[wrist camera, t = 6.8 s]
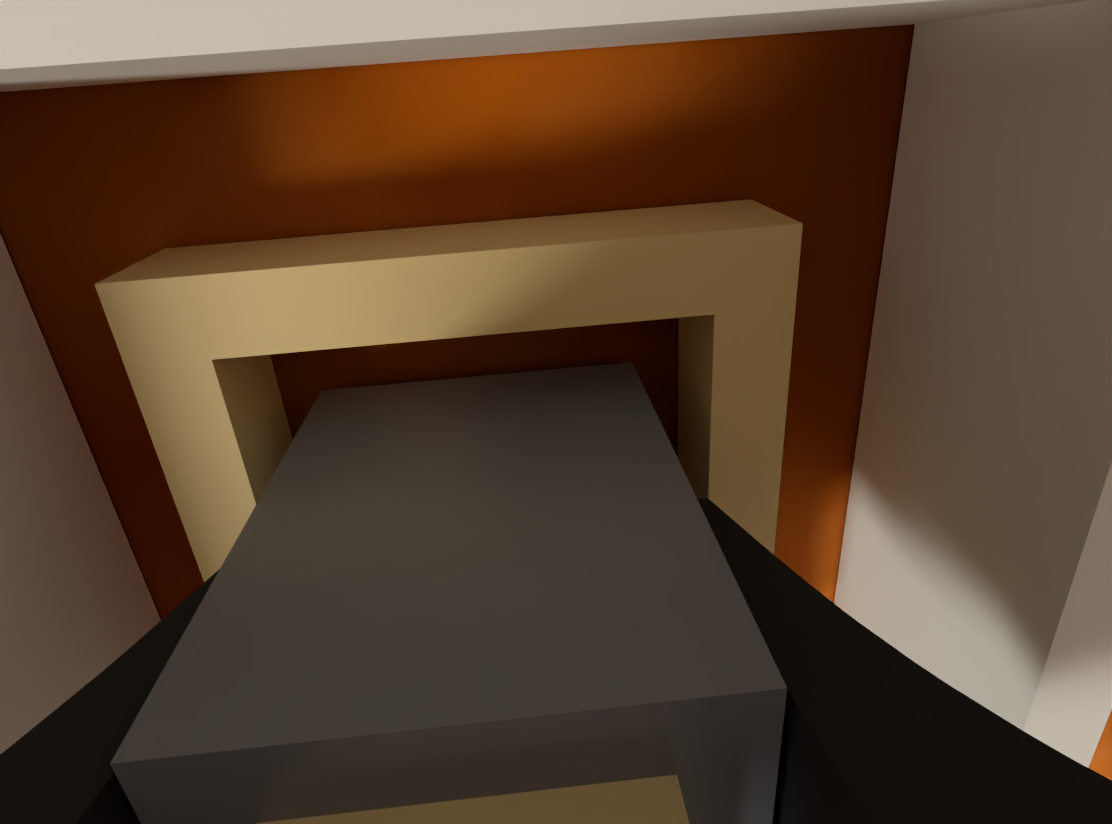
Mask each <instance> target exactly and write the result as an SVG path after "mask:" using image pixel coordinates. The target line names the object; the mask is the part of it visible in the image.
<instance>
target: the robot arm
mask: <svg viewBox="0 0 1112 824" xmlns="http://www.w3.org/2000/svg"><path fill="white" fill-rule="evenodd" d="M697 500H698V502H699V504H700V506H701V508H702V510H703V512H704V514H705V517H706V519H707V521H708V523H709V525H710V527H711V529H712V531H713V533H714V535H715V538H716V540H717V542H718V544H719V546H720V548H721V550H722V552H723V554H724V556H725V559H726V561H727V563H728V565H729V567H730V569H731V571H732V573H733V575H734V577H735V580H736V582H737V584H738V586H739V588H740V590H741V592H742V594H743V596H744V598H745V601H746V603H747V605H748V607H749V609H750V611H751V613H752V615H753V617H754V620H755V622H756V624H757V626H758V628H759V630H760V632H761V634H762V636H763V638H764V641H765V643H766V645H767V647H768V649H769V651H770V653H771V655H772V657H773V659H774V662H775V664H776V666H777V668H778V670H779V672H780V674H781V676H782V678H783V680H784V683H785V685H786V687H787V695H786V704H785V713H784V722H783V731H782V740H781V749H780V758H779V767H778V776H777V785H776V794H775V803H774V812H773V821H772V824H1112V781H1111V780H1109V779H1107V778H1106V777H1104V776H1102V775H1100V774H1098V773H1096V772H1095V771H1093V770H1091V769H1089V768H1087V767H1085V766H1083V765H1082V764H1080V763H1078V762H1076V761H1074V760H1073V759H1071V758H1069V757H1067V756H1066V755H1064V754H1062V753H1060V752H1059V751H1057V750H1055V749H1053V748H1052V747H1050V746H1048V745H1047V744H1045V743H1043V742H1041V741H1040V740H1038V739H1036V738H1034V737H1033V736H1031V735H1029V734H1028V733H1026V732H1024V731H1023V730H1021V729H1019V728H1018V727H1016V726H1014V725H1013V724H1011V723H1010V722H1008V721H1006V720H1005V719H1003V718H1002V717H1000V716H998V715H997V714H995V713H993V712H992V711H990V710H989V709H987V708H985V707H984V706H982V705H981V704H979V703H977V702H976V701H974V700H973V699H971V698H969V697H968V696H966V695H964V694H963V693H961V692H960V691H958V690H956V689H955V688H953V687H952V686H950V685H948V684H947V683H945V682H944V681H942V680H941V679H939V678H938V677H936V676H935V675H933V674H932V673H930V672H929V671H927V670H926V669H924V668H923V667H921V666H920V665H918V664H917V663H915V662H914V661H912V660H911V659H909V658H908V657H907V656H905V655H904V654H902V653H901V652H900V651H898V650H897V649H895V648H894V647H893V646H891V645H890V644H888V643H887V642H886V641H884V640H883V639H881V638H880V637H879V636H877V635H876V634H874V633H873V632H872V631H870V630H869V629H867V628H866V627H865V626H863V625H862V624H860V623H859V622H858V621H856V620H855V619H854V618H852V617H851V616H850V615H848V614H847V613H846V612H844V611H843V610H842V609H840V608H839V607H838V606H836V605H835V604H834V603H833V602H831V601H830V600H829V599H827V598H826V597H825V596H824V595H822V594H821V593H820V592H819V591H817V590H816V589H815V588H814V587H812V586H811V585H810V584H809V583H807V582H806V581H805V580H804V579H802V578H801V577H800V576H798V575H797V574H796V573H795V572H794V571H792V570H791V569H790V568H789V567H788V566H786V565H785V564H784V563H783V562H782V561H780V560H779V559H778V558H777V557H776V556H775V555H773V554H772V553H771V552H770V551H769V550H768V549H766V548H765V547H764V546H763V545H762V544H760V543H759V542H758V541H757V540H756V539H755V538H753V537H752V536H751V535H750V534H749V533H748V532H747V531H745V530H744V529H743V528H742V527H741V526H740V525H738V524H737V523H736V522H735V521H734V520H733V519H732V518H730V517H729V516H728V515H727V514H726V513H725V512H723V511H722V510H721V509H720V508H719V507H718V506H716V505H715V504H714V503H713V502H712V501H711V500H709V499H708V498H700V499H697ZM219 570H220V569H219ZM219 570H218V571H217V572H216V573H214V574H213V575H212V576H211V577H210V578H209V579H208V580H206V581H205V582H204V583H203V584H202V585H201V586H200V587H198V588H197V589H196V590H195V591H194V592H193V593H192V594H191V595H189V596H188V597H187V598H186V599H185V600H184V601H183V602H182V603H180V604H179V605H178V606H177V607H176V608H175V609H174V610H173V611H171V612H170V613H169V614H168V615H167V616H166V617H165V618H163V619H162V620H161V621H160V622H159V623H158V624H157V625H155V626H154V627H153V628H152V629H151V630H150V631H148V632H147V633H146V634H145V635H144V636H143V637H142V638H140V639H139V640H138V641H137V642H136V643H135V644H134V645H132V646H131V647H130V648H129V649H128V650H127V651H126V652H124V653H123V654H122V655H121V656H120V657H119V658H118V659H116V660H115V661H114V662H113V663H112V664H111V665H109V666H108V667H107V668H106V669H105V670H104V671H102V672H101V673H100V674H99V675H97V676H96V677H95V678H94V679H93V680H91V681H90V682H89V683H88V684H86V685H85V686H84V687H83V688H82V689H80V690H79V691H78V692H77V693H75V694H74V695H73V696H72V697H70V698H69V699H68V700H67V701H66V702H64V703H63V704H62V705H61V706H59V707H58V708H57V709H56V710H55V711H53V712H52V713H51V714H50V715H48V716H47V717H46V718H45V719H43V720H42V721H41V722H40V723H39V724H37V725H36V726H35V727H34V728H32V729H31V730H30V731H29V732H27V733H26V734H25V735H24V736H23V737H21V738H20V739H19V740H18V741H16V742H15V743H14V744H13V745H12V746H10V747H9V748H8V749H7V750H5V751H4V752H3V753H1V754H0V824H141V823H140V821H139V819H138V817H137V815H136V813H135V811H134V809H133V807H132V805H131V803H130V801H129V799H128V798H127V796H126V794H125V792H124V790H123V788H122V786H121V784H120V782H119V780H118V778H117V776H116V775H115V773H114V771H113V769H112V767H111V765H110V763H111V761H112V759H113V757H114V756H115V754H116V752H117V750H118V749H119V747H120V745H121V743H122V742H123V740H124V738H125V736H126V734H127V733H128V731H129V729H130V727H131V726H132V724H133V722H134V720H135V719H136V717H137V715H138V713H139V711H140V710H141V708H142V706H143V704H144V703H145V701H146V699H147V697H148V696H149V694H150V692H151V690H152V688H153V687H154V685H155V683H156V681H157V680H158V678H159V676H160V674H161V673H162V671H163V669H164V667H165V665H166V664H167V662H168V660H169V658H170V657H171V655H172V653H173V651H174V650H175V648H176V646H177V644H178V642H179V641H180V639H181V637H182V635H183V634H184V632H185V630H186V628H187V627H188V625H189V623H190V621H191V619H192V618H193V616H194V614H195V612H196V611H197V609H198V607H199V605H200V603H201V602H202V600H203V598H204V596H205V595H206V593H207V591H208V589H209V588H210V586H211V584H212V582H213V580H214V579H215V577H216V575H217V573H218V572H219Z"/></svg>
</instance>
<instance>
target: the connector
mask: <svg viewBox="0 0 1112 824" xmlns="http://www.w3.org/2000/svg"><path fill="white" fill-rule="evenodd" d="M786 695H787V687H786V685H785V683H784V680H783V678H782V676H781V674H780V672H779V670H778V668H777V666H776V664H775V662H774V659H773V657H772V655H771V653H770V651H769V649H768V647H767V645H766V643H765V641H764V638H763V636H762V634H761V632H760V630H759V628H758V626H757V624H756V622H755V620H754V617H753V615H752V613H751V611H750V609H749V607H748V605H747V603H746V601H745V598H744V596H743V594H742V592H741V590H740V588H739V586H738V584H737V582H736V580H735V577H734V575H733V573H732V571H731V569H730V567H729V565H728V563H727V561H726V559H725V556H724V554H723V552H722V550H721V548H720V546H719V544H718V542H717V540H716V538H715V535H714V533H713V531H712V529H711V527H710V525H709V523H708V521H707V519H706V517H705V514H704V512H703V510H702V508H701V506H700V504H699V502H698V500H697V498H696V496H695V493H694V491H693V489H692V487H691V485H690V483H689V481H688V479H687V477H686V474H685V472H684V470H683V468H682V466H681V464H680V462H679V460H678V458H677V456H676V453H675V451H674V449H673V447H672V445H671V443H670V441H669V439H668V437H667V435H666V432H665V430H664V428H663V426H662V424H661V422H660V420H659V418H658V416H657V414H656V411H655V409H654V407H653V405H652V403H651V401H650V399H649V397H648V395H647V393H646V390H645V388H644V386H643V384H642V382H641V380H640V378H639V376H638V374H637V372H636V369H635V367H634V365H633V363H632V362H627V363H616V364H605V365H594V366H583V367H572V368H561V369H551V370H540V371H529V372H518V373H507V374H496V375H485V376H474V377H463V378H452V379H441V380H430V381H419V382H409V383H398V384H387V385H376V386H365V387H354V388H343V389H332V390H321V391H320V393H319V395H318V396H317V398H316V400H315V402H314V403H313V405H312V407H311V409H310V411H309V412H308V414H307V416H306V418H305V419H304V421H303V423H302V425H301V426H300V428H299V430H298V432H297V434H296V435H295V437H294V439H293V441H292V442H291V444H290V446H289V448H288V449H287V451H286V453H285V455H284V457H283V458H282V460H281V462H280V464H279V465H278V467H277V469H276V471H275V473H274V474H273V476H272V478H271V480H270V481H269V483H268V485H267V487H266V488H265V490H264V492H263V494H262V496H261V497H260V499H259V501H258V503H257V504H256V506H255V508H254V510H253V511H252V513H251V515H250V517H249V519H248V520H247V522H246V524H245V526H244V527H243V529H242V531H241V533H240V534H239V536H238V538H237V540H236V542H235V543H234V545H233V547H232V549H231V550H230V552H229V554H228V556H227V557H226V559H225V561H224V563H223V565H222V566H221V568H220V570H219V572H218V573H217V575H216V577H215V579H214V580H213V582H212V584H211V586H210V588H209V589H208V591H207V593H206V595H205V596H204V598H203V600H202V602H201V603H200V605H199V607H198V609H197V611H196V612H195V614H194V616H193V618H192V619H191V621H190V623H189V625H188V627H187V628H186V630H185V632H184V634H183V635H182V637H181V639H180V641H179V642H178V644H177V646H176V648H175V650H174V651H173V653H172V655H171V657H170V658H169V660H168V662H167V664H166V665H165V667H164V669H163V671H162V673H161V674H160V676H159V678H158V680H157V681H156V683H155V685H154V687H153V688H152V690H151V692H150V694H149V696H148V697H147V699H146V701H145V703H144V704H143V706H142V708H141V710H140V711H139V713H138V715H137V717H136V719H135V720H134V722H133V724H132V726H131V727H130V729H129V731H128V733H127V734H126V736H125V738H124V740H123V742H122V743H121V745H120V747H119V749H118V750H117V752H116V754H115V756H114V757H113V759H112V761H111V763H110V765H111V767H112V769H113V771H114V773H115V775H116V776H117V778H118V780H119V782H120V784H121V786H122V788H123V790H124V792H125V794H126V796H127V798H128V799H129V801H130V803H131V805H132V807H133V809H134V811H135V813H136V815H137V817H138V819H139V821H140V823H141V824H772V821H773V812H774V803H775V794H776V785H777V776H778V767H779V758H780V749H781V740H782V731H783V722H784V713H785V704H786Z"/></svg>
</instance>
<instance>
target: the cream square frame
mask: <svg viewBox="0 0 1112 824" xmlns="http://www.w3.org/2000/svg"><path fill="white" fill-rule="evenodd" d="M910 24H915V26H914V33H913V40H912V48H911V55H910V62H909V69H908V76H907V83H906V91H905V98H904V105H903V112H902V119H901V127H900V134H899V141H898V148H897V155H896V162H895V170H894V177H893V184H892V191H891V198H890V205H889V213H888V220H887V227H886V234H885V241H884V248H883V256H882V263H881V270H880V277H879V284H878V292H877V299H876V306H875V313H874V320H873V327H872V335H871V342H870V349H869V356H868V363H867V370H866V378H865V385H864V392H863V399H862V406H861V414H860V421H859V428H858V435H857V442H856V449H855V457H854V464H853V471H852V478H851V485H850V492H849V500H848V507H847V514H846V521H845V528H844V535H843V543H842V550H841V557H840V564H839V571H838V579H837V586H836V593H835V600H834V604H835V605H836V606H838V607H839V608H840V609H842V610H843V611H844V612H846V613H847V614H848V615H850V616H851V617H852V618H854V619H855V620H856V621H858V622H859V623H860V624H862V625H863V626H865V627H866V628H867V629H869V630H870V631H872V632H873V633H874V634H876V635H877V636H879V637H880V638H881V639H883V640H884V641H886V642H887V643H888V644H890V645H891V646H893V647H894V648H895V649H897V650H898V651H900V652H901V653H902V654H904V655H905V656H907V657H908V658H909V659H911V660H912V661H914V662H915V663H917V664H918V665H920V666H921V667H923V668H924V669H926V670H927V671H929V672H930V673H932V674H933V675H935V676H936V677H938V678H939V679H941V680H942V681H944V682H945V683H947V684H948V685H950V686H952V687H953V688H955V689H956V690H958V691H960V692H961V693H963V694H964V695H966V696H968V697H969V698H971V699H973V700H974V701H976V702H977V703H979V704H981V705H982V706H984V707H985V708H987V709H989V710H990V711H992V712H993V713H995V714H997V715H998V716H1000V717H1002V718H1003V719H1005V720H1006V721H1008V722H1010V723H1011V724H1013V725H1014V726H1016V727H1018V728H1019V729H1021V730H1023V731H1024V732H1026V733H1028V734H1029V735H1031V736H1033V737H1034V738H1036V739H1038V740H1040V741H1041V742H1043V743H1045V744H1047V745H1048V746H1050V747H1052V748H1053V749H1055V750H1057V751H1059V752H1060V753H1062V754H1064V755H1066V756H1067V757H1069V758H1071V759H1073V760H1074V761H1076V762H1078V763H1080V764H1082V765H1083V766H1085V767H1087V768H1088V767H1089V764H1090V762H1091V759H1092V757H1093V754H1094V752H1095V749H1096V747H1097V744H1098V742H1099V739H1100V737H1101V734H1102V732H1103V729H1104V727H1105V724H1106V722H1107V719H1108V717H1109V714H1110V712H1111V709H1112V0H0V92H8V91H21V90H35V89H48V88H62V87H75V86H88V85H102V84H115V83H129V82H142V81H156V80H169V79H183V78H196V77H210V76H223V75H237V74H250V73H263V72H277V71H290V70H304V69H317V68H331V67H344V66H358V65H371V64H385V63H398V62H412V61H425V60H438V59H452V58H465V57H479V56H492V55H506V54H519V53H533V52H546V51H560V50H573V49H587V48H600V47H613V46H627V45H640V44H654V43H667V42H681V41H694V40H708V39H721V38H735V37H748V36H761V35H775V34H788V33H802V32H815V31H829V30H842V29H856V28H869V27H883V26H896V25H910ZM802 228H803V223H801V222H798V221H796V220H794V219H792V218H790V217H788V216H786V215H784V214H781V213H779V212H777V211H775V210H773V209H771V208H769V207H767V206H764V205H762V204H760V203H758V202H756V201H754V200H752V199H749V200H737V201H725V202H713V203H701V204H689V205H677V206H665V207H653V208H641V209H629V210H617V211H606V212H594V213H582V214H570V215H558V216H546V217H534V218H522V219H510V220H498V221H486V222H474V223H462V224H450V225H438V226H426V227H414V228H402V229H390V230H378V231H367V232H355V233H343V234H331V235H319V236H307V237H295V238H283V239H271V240H259V241H247V242H235V243H223V244H211V245H199V246H187V247H175V248H164V249H162V250H160V251H159V252H157V253H155V254H153V255H151V256H149V257H147V258H145V259H143V260H141V261H139V262H137V263H135V264H133V265H131V266H129V267H127V268H125V269H123V270H121V271H119V272H117V273H115V274H113V275H111V276H109V277H107V278H105V279H103V280H101V281H99V282H97V283H95V284H94V285H95V287H96V290H97V293H98V296H99V298H100V301H101V304H102V306H103V309H104V312H105V315H106V317H107V320H108V323H109V325H110V328H111V331H112V334H113V336H114V339H115V342H116V344H117V347H118V350H119V353H120V355H121V358H122V361H123V363H124V366H125V369H126V372H127V374H128V377H129V380H130V382H131V385H132V388H133V391H134V393H135V396H136V399H137V401H138V404H139V407H140V410H141V412H142V415H143V418H144V420H145V423H146V426H147V429H148V431H149V434H150V437H151V439H152V442H153V445H154V448H155V450H156V453H157V456H158V458H159V461H160V464H161V467H162V469H163V472H164V475H165V477H166V480H167V483H168V486H169V488H170V491H171V494H172V496H173V499H174V502H175V505H176V507H177V510H178V513H179V515H180V518H181V521H182V524H183V526H184V529H185V532H186V534H187V537H188V540H189V543H190V545H191V548H192V551H193V553H194V556H195V559H196V562H197V564H198V567H199V570H200V572H201V575H202V578H203V581H204V582H205V581H206V580H208V579H209V578H210V577H211V576H212V575H213V574H214V573H216V572H217V571H218V570H219V569H220V568H221V566H222V565H223V563H224V561H225V559H226V557H227V556H228V554H229V552H230V550H231V549H232V547H233V545H234V543H235V542H236V540H237V538H238V536H239V534H240V533H241V531H242V529H243V527H244V526H245V524H246V522H247V520H248V519H249V517H250V515H251V513H252V511H253V510H254V508H255V506H256V504H257V503H258V501H259V499H260V497H261V496H262V494H263V492H264V490H265V488H266V487H267V485H268V483H269V481H270V480H271V478H272V476H273V474H274V473H275V471H276V469H277V467H278V465H279V464H280V462H281V460H282V458H283V457H284V455H285V453H286V451H287V449H288V448H289V446H290V444H291V442H292V441H293V438H292V435H291V431H290V427H289V423H288V420H287V416H286V412H285V408H284V405H283V401H282V397H281V393H280V390H279V386H278V382H277V378H276V375H275V371H274V367H273V363H272V360H271V356H270V354H281V353H292V352H303V351H314V350H326V349H337V348H348V347H359V346H370V345H381V344H392V343H403V342H414V341H425V340H437V339H448V338H459V337H470V336H481V335H492V334H503V333H514V332H525V331H536V330H548V329H559V328H570V327H581V326H592V325H603V324H614V323H625V322H636V321H647V320H658V319H670V318H679V355H678V452H677V458H678V460H679V462H680V464H681V466H682V468H683V470H684V472H685V474H686V477H687V479H688V481H689V483H690V485H691V487H692V489H693V491H694V493H695V496H696V498H697V499H700V498H708V499H709V500H711V501H712V502H713V503H714V504H715V505H716V506H718V507H719V508H720V509H721V510H722V511H723V512H725V513H726V514H727V515H728V516H729V517H730V518H732V519H733V520H734V521H735V522H736V523H737V524H738V525H740V526H741V527H742V528H743V529H744V530H745V531H747V532H748V533H749V534H750V535H751V536H752V537H753V538H755V539H756V540H757V541H758V542H759V543H760V544H762V545H763V546H764V547H765V548H766V549H768V550H769V551H770V552H771V553H772V554H773V555H774V550H775V538H776V527H777V515H778V504H779V492H780V481H781V469H782V458H783V446H784V435H785V423H786V412H787V400H788V389H789V377H790V366H791V354H792V343H793V331H794V320H795V308H796V297H797V285H798V274H799V262H800V251H801V239H802ZM160 621H161V619H160V617H159V614H158V612H157V609H156V607H155V605H154V602H153V600H152V597H151V595H150V593H149V590H148V588H147V585H146V583H145V581H144V578H143V576H142V573H141V571H140V569H139V566H138V564H137V561H136V559H135V557H134V554H133V552H132V549H131V547H130V545H129V542H128V540H127V537H126V535H125V532H124V530H123V528H122V525H121V523H120V520H119V518H118V516H117V513H116V511H115V508H114V506H113V504H112V501H111V499H110V496H109V494H108V492H107V489H106V487H105V484H104V482H103V480H102V477H101V475H100V472H99V470H98V468H97V465H96V463H95V460H94V458H93V455H92V453H91V451H90V448H89V446H88V443H87V441H86V439H85V436H84V434H83V431H82V429H81V427H80V424H79V422H78V419H77V417H76V415H75V412H74V410H73V407H72V405H71V403H70V400H69V398H68V395H67V393H66V391H65V388H64V386H63V383H62V381H61V379H60V376H59V374H58V371H57V369H56V366H55V364H54V362H53V359H52V357H51V354H50V352H49V350H48V347H47V345H46V342H45V340H44V338H43V335H42V333H41V330H40V328H39V326H38V323H37V321H36V318H35V316H34V314H33V311H32V309H31V306H30V304H29V302H28V299H27V297H26V294H25V292H24V289H23V287H22V285H21V282H20V280H19V277H18V275H17V273H16V270H15V268H14V265H13V263H12V261H11V258H10V256H9V253H8V251H7V249H6V246H5V244H4V241H3V239H2V237H1V234H0V754H1V753H3V752H4V751H5V750H7V749H8V748H9V747H10V746H12V745H13V744H14V743H15V742H16V741H18V740H19V739H20V738H21V737H23V736H24V735H25V734H26V733H27V732H29V731H30V730H31V729H32V728H34V727H35V726H36V725H37V724H39V723H40V722H41V721H42V720H43V719H45V718H46V717H47V716H48V715H50V714H51V713H52V712H53V711H55V710H56V709H57V708H58V707H59V706H61V705H62V704H63V703H64V702H66V701H67V700H68V699H69V698H70V697H72V696H73V695H74V694H75V693H77V692H78V691H79V690H80V689H82V688H83V687H84V686H85V685H86V684H88V683H89V682H90V681H91V680H93V679H94V678H95V677H96V676H97V675H99V674H100V673H101V672H102V671H104V670H105V669H106V668H107V667H108V666H109V665H111V664H112V663H113V662H114V661H115V660H116V659H118V658H119V657H120V656H121V655H122V654H123V653H124V652H126V651H127V650H128V649H129V648H130V647H131V646H132V645H134V644H135V643H136V642H137V641H138V640H139V639H140V638H142V637H143V636H144V635H145V634H146V633H147V632H148V631H150V630H151V629H152V628H153V627H154V626H155V625H157V624H158V623H159V622H160Z"/></svg>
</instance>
